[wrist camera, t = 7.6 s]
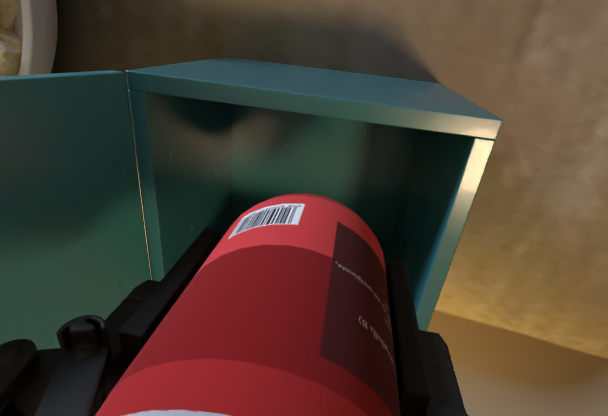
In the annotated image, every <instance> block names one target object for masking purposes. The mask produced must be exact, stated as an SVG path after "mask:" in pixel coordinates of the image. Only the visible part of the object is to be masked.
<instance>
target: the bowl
mask: <svg viewBox="0 0 608 416" xmlns="http://www.w3.org/2000/svg"><path fill="white" fill-rule="evenodd" d="M56 44H57V4H56V0H0V76H17V75H35V74H51V71H52V67H53V63H54V58H55V52H56Z"/></svg>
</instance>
